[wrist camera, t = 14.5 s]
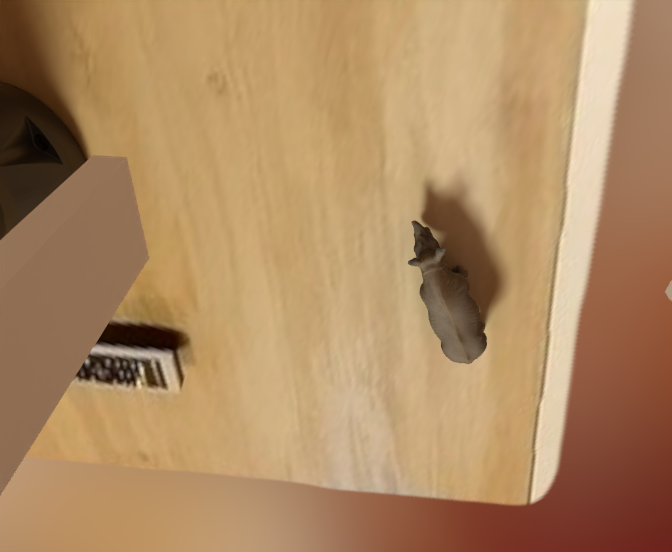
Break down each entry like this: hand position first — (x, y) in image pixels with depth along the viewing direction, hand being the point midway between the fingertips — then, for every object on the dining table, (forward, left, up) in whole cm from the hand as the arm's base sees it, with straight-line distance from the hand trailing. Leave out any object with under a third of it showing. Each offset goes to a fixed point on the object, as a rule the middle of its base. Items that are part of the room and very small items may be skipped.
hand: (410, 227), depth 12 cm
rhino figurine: (+7, -16, -29) cm, 33 cm away
